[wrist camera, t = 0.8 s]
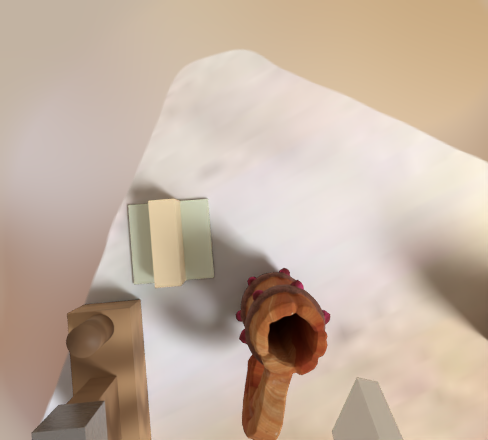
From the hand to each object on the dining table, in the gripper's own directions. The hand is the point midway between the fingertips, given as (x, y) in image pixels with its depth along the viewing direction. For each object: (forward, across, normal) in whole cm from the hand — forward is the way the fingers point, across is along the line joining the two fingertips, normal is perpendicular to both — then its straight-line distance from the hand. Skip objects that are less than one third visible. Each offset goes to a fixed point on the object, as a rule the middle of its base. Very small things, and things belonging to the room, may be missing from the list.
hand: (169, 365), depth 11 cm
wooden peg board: (+20, +8, +28) cm, 35 cm away
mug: (+25, -8, +15) cm, 30 cm away
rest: (+27, +6, +8) cm, 29 cm away
